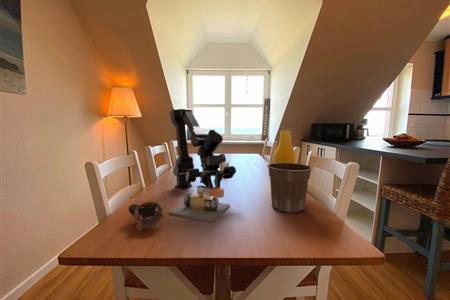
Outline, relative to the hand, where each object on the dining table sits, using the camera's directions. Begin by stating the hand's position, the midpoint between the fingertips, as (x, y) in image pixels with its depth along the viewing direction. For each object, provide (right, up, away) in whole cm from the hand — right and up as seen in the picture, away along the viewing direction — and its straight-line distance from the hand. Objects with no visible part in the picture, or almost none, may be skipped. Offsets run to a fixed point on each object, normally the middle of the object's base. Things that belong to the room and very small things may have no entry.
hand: (216, 194), depth 76 cm
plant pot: (+27, -6, +5) cm, 28 cm away
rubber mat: (-6, -6, +1) cm, 8 cm away
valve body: (-6, -6, +1) cm, 8 cm away
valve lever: (-2, 0, -1) cm, 2 cm away
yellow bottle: (+30, -4, +22) cm, 37 cm away
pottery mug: (-22, -8, -10) cm, 25 cm away
